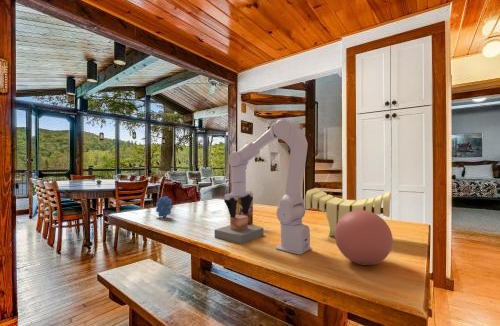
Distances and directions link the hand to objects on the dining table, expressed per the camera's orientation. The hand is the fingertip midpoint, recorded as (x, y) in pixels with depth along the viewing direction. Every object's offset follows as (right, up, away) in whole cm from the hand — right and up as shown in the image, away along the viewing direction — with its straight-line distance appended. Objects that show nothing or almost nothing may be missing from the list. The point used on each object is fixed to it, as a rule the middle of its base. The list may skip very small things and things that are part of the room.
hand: (239, 215), depth 102 cm
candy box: (+1, -9, +17) cm, 19 cm away
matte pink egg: (+38, -8, -26) cm, 47 cm away
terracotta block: (0, -5, 0) cm, 5 cm away
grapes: (-42, -9, +37) cm, 57 cm away
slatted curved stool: (+44, -8, 0) cm, 45 cm away
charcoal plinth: (0, -8, 0) cm, 8 cm away
